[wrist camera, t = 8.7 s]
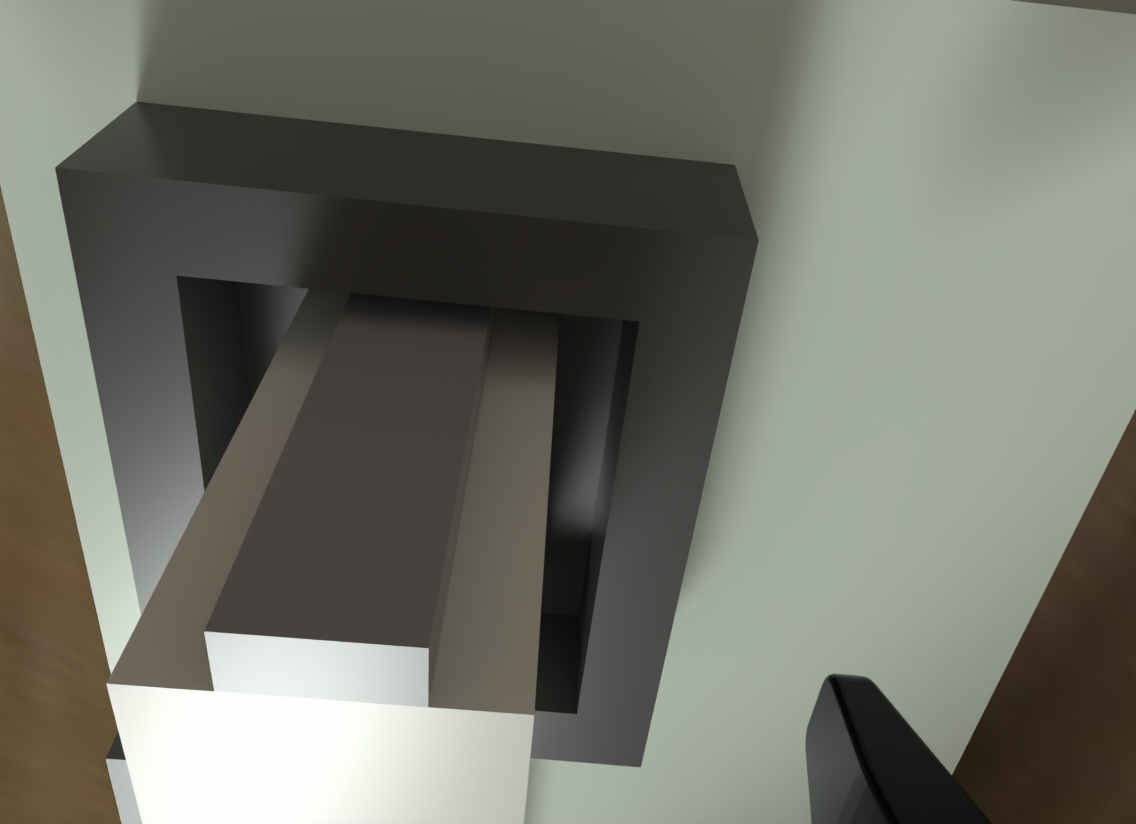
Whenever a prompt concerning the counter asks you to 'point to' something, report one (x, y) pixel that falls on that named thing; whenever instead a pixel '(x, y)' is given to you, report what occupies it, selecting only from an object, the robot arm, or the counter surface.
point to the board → (624, 321)
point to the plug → (357, 582)
